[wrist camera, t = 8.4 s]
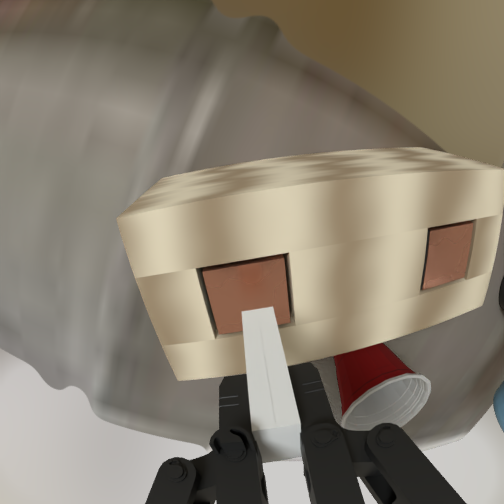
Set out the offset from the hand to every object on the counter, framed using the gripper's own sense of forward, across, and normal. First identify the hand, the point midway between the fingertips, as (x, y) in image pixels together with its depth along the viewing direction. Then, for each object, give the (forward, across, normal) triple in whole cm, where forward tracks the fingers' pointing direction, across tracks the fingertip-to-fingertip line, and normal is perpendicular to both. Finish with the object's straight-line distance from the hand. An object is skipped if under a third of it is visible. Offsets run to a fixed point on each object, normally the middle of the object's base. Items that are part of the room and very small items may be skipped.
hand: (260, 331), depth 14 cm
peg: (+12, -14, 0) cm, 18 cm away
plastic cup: (+15, -12, +18) cm, 26 cm away
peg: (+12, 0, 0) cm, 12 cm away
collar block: (+15, -6, 0) cm, 16 cm away
